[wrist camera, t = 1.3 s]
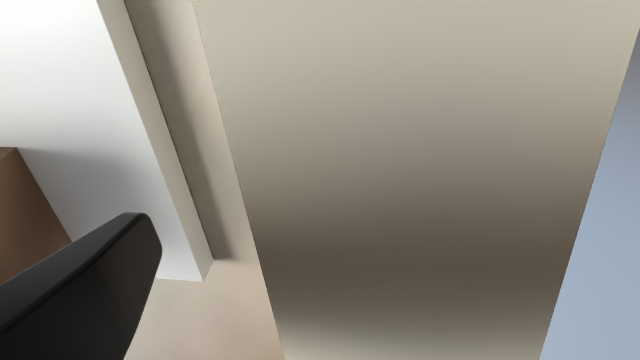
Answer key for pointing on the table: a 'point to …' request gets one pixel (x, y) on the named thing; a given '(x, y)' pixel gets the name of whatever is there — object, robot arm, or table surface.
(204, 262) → the grey base board
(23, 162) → the walnut posts
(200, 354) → the table surface
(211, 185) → the table surface
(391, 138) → the maple beam block
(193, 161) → the table surface
